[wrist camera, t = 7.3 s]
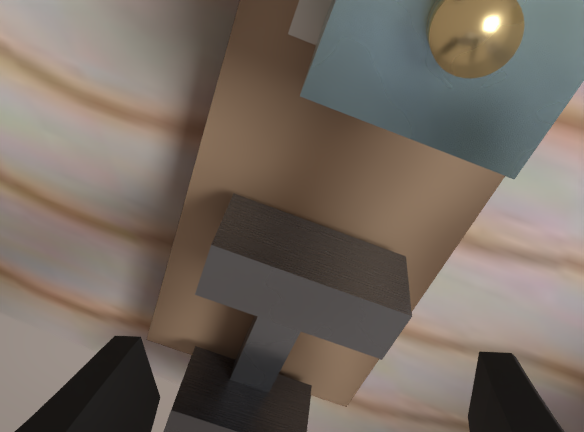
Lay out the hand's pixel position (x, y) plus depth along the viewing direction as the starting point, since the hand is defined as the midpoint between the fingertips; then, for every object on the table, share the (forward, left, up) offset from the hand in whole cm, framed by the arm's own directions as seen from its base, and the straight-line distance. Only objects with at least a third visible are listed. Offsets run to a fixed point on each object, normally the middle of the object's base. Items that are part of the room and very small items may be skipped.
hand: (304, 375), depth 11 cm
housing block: (0, -7, -7) cm, 10 cm away
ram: (0, +5, -6) cm, 8 cm away
